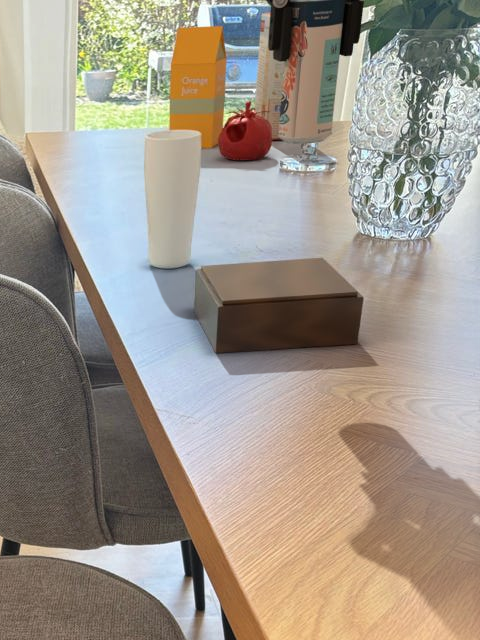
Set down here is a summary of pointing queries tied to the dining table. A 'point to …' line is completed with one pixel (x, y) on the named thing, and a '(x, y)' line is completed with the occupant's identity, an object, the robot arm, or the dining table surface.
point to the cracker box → (268, 81)
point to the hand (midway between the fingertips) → (312, 54)
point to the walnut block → (276, 305)
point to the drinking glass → (171, 194)
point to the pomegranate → (245, 135)
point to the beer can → (311, 71)
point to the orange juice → (198, 82)
